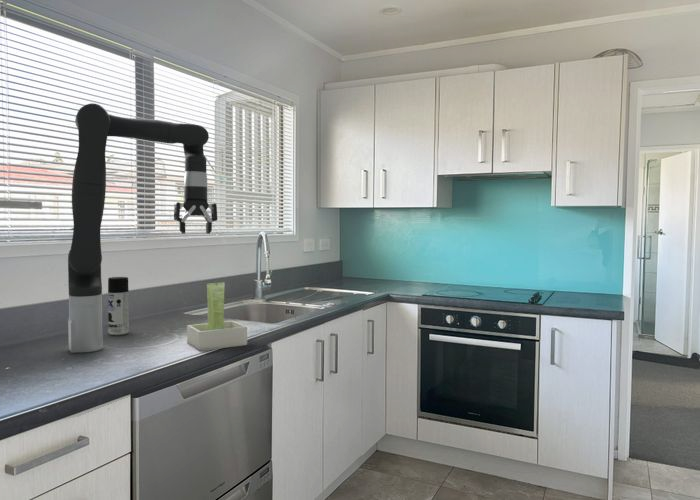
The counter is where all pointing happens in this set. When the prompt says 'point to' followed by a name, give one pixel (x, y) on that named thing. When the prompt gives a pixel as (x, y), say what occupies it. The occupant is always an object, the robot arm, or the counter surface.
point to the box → (216, 336)
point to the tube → (215, 305)
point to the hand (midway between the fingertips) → (195, 233)
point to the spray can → (118, 306)
